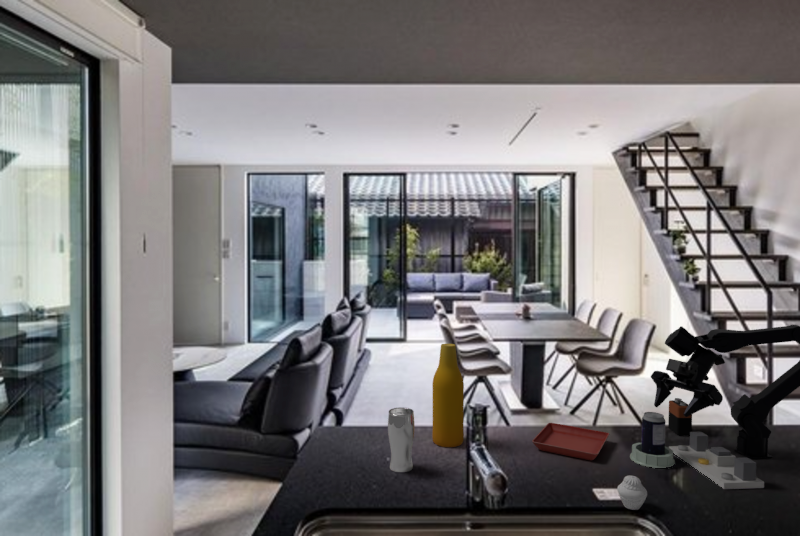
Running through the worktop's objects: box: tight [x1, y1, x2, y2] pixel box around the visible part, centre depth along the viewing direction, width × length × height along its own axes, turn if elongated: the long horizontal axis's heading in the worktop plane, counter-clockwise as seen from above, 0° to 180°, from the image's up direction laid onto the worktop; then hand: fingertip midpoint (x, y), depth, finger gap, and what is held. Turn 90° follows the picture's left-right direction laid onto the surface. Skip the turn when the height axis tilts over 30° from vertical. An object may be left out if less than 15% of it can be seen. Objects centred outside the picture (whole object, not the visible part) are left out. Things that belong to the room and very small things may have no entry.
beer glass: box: [387, 407, 415, 473], centre depth 139 cm, size 7×7×15 cm
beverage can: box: [641, 411, 666, 455], centre depth 143 cm, size 6×6×12 cm
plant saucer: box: [531, 422, 610, 461], centre depth 153 cm, size 18×18×3 cm
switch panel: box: [668, 431, 765, 490], centre depth 138 cm, size 23×10×6 cm, turn 4°
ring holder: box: [629, 442, 676, 469], centre depth 143 cm, size 11×11×3 cm
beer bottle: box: [431, 343, 465, 448], centre depth 156 cm, size 9×9×29 cm
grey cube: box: [710, 446, 732, 456], centre depth 138 cm, size 3×3×3 cm
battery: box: [667, 397, 693, 436], centre depth 164 cm, size 4×7×10 cm, turn 176°
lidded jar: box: [617, 475, 648, 511], centre depth 118 cm, size 6×6×7 cm
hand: (669, 411), depth 145 cm, fingers open, 9 cm apart
